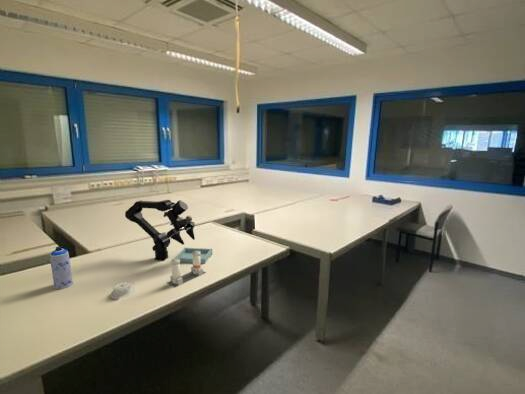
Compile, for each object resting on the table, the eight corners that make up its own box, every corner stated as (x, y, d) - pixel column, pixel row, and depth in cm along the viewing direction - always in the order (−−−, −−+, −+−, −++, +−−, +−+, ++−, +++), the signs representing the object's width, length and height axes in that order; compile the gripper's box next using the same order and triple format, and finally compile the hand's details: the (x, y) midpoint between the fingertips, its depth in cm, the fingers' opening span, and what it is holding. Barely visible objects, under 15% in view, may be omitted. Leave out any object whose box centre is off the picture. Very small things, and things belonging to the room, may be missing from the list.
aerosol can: (66, 279, 145) (61, 243, 141) (76, 282, 142) (71, 245, 138) (50, 287, 138) (44, 248, 133) (60, 290, 135) (55, 251, 131)
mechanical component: (129, 300, 128) (137, 288, 138) (128, 291, 127) (137, 280, 137) (106, 300, 128) (117, 288, 138) (105, 291, 127) (116, 280, 137)
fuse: (170, 284, 140) (169, 261, 138) (174, 280, 144) (173, 258, 142) (179, 284, 140) (178, 262, 137) (182, 280, 144) (181, 258, 141)
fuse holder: (166, 284, 142) (166, 277, 141) (197, 270, 157) (197, 263, 156) (175, 289, 137) (174, 281, 137) (206, 274, 153) (206, 267, 152)
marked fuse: (191, 274, 150) (191, 253, 148) (194, 270, 154) (193, 250, 152) (199, 275, 150) (198, 253, 147) (201, 271, 154) (201, 250, 152)
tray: (175, 263, 165) (174, 257, 165) (184, 252, 181) (184, 247, 180) (205, 265, 164) (205, 259, 163) (212, 254, 180) (212, 248, 179)
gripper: (171, 215, 151) (186, 240, 150) (193, 208, 168) (207, 230, 166) (159, 225, 156) (174, 249, 155) (182, 218, 173) (196, 239, 171)
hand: (189, 241), depth 162 cm, fingers open, 9 cm apart
